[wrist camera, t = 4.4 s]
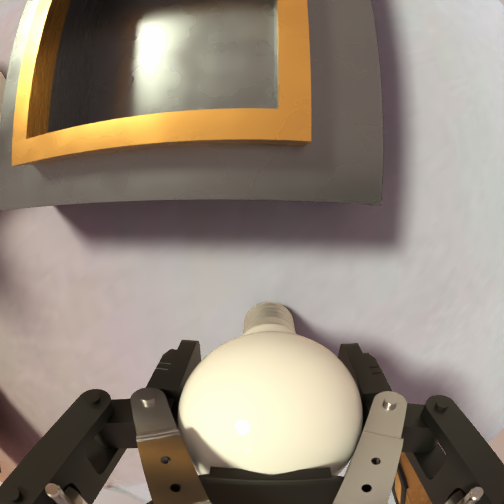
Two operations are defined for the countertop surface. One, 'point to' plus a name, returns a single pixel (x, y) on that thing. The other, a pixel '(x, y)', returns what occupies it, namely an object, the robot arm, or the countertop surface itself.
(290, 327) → the lightbulb
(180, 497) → the robot arm
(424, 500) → the ammunition clip
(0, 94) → the mug
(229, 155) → the grey shallow box
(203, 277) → the countertop surface
